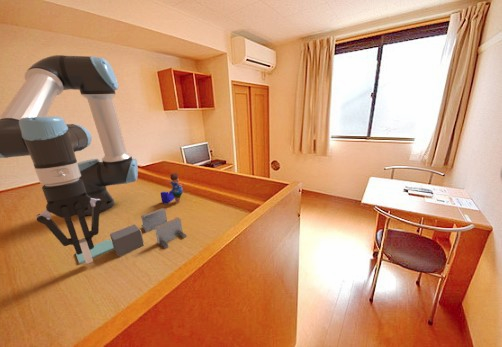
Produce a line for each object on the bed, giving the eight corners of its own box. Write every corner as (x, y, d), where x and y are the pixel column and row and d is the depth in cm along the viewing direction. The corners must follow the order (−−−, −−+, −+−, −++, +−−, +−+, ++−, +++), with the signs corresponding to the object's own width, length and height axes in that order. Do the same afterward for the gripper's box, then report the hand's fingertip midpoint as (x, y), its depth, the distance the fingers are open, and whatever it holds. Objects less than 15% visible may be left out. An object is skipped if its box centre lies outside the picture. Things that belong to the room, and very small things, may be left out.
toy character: (191, 204, 93) (187, 173, 88) (182, 207, 89) (178, 176, 85) (176, 198, 100) (171, 170, 96) (167, 201, 96) (162, 172, 92)
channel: (141, 227, 74) (138, 213, 72) (162, 219, 80) (159, 205, 78) (164, 249, 61) (160, 232, 60) (187, 237, 67) (184, 221, 65)
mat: (75, 253, 61) (75, 252, 61) (109, 240, 67) (109, 238, 67) (79, 264, 56) (79, 262, 56) (115, 248, 63) (115, 247, 63)
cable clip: (173, 194, 105) (171, 184, 104) (180, 195, 105) (179, 184, 103) (159, 204, 94) (157, 192, 92) (168, 204, 93) (166, 193, 92)
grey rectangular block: (114, 250, 62) (109, 233, 60) (139, 239, 67) (135, 223, 66) (119, 257, 59) (114, 240, 57) (145, 245, 64) (141, 229, 62)
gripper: (23, 192, 42) (58, 281, 48) (97, 177, 51) (119, 254, 57) (23, 185, 47) (56, 267, 53) (92, 172, 56) (112, 243, 62)
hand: (88, 260), depth 55 cm, fingers closed
